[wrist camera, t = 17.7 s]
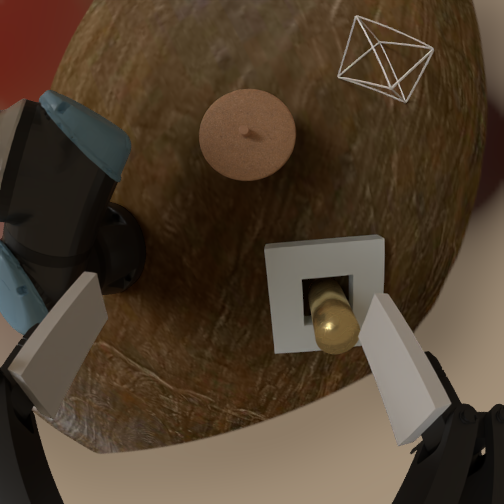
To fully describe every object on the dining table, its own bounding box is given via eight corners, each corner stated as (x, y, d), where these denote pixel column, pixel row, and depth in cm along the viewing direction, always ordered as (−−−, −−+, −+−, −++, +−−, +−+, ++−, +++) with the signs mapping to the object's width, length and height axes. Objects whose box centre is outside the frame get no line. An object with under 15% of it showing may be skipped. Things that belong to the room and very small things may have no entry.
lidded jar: (217, 106, 34) (197, 85, 25) (295, 108, 33) (298, 85, 24) (213, 180, 37) (191, 179, 28) (292, 184, 36) (294, 183, 27)
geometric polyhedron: (349, 111, 32) (367, 91, 24) (324, 46, 30) (332, 15, 21) (421, 102, 30) (451, 86, 22) (395, 41, 28) (417, 16, 19)
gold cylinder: (308, 309, 40) (315, 356, 28) (306, 278, 39) (314, 317, 27) (341, 306, 39) (359, 351, 28) (341, 275, 38) (361, 312, 27)
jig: (275, 342, 42) (274, 353, 39) (265, 243, 38) (264, 248, 35) (374, 333, 40) (379, 342, 37) (377, 234, 36) (384, 238, 33)
